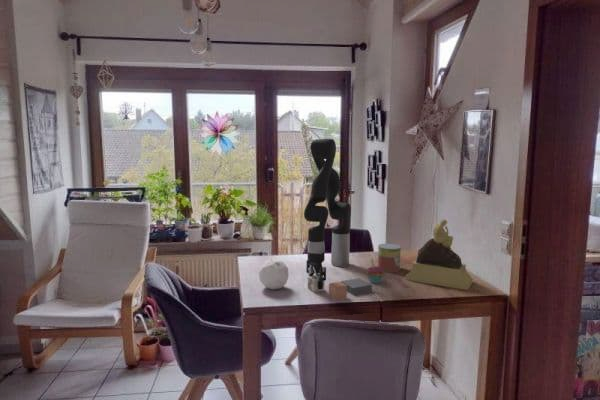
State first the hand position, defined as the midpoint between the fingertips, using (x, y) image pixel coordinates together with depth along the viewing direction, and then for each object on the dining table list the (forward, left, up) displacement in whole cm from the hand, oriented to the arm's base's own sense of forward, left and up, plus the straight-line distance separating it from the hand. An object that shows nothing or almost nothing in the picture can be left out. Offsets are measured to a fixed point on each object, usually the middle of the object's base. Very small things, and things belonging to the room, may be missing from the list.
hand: (315, 286), depth 195 cm
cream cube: (0, 0, -2) cm, 2 cm away
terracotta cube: (+12, +4, -2) cm, 13 cm away
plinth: (+8, +16, -1) cm, 18 cm away
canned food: (-10, +48, -2) cm, 49 cm away
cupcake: (+3, +30, -2) cm, 30 cm away
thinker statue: (+15, +58, -2) cm, 60 cm away
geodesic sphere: (-10, -16, -2) cm, 19 cm away
